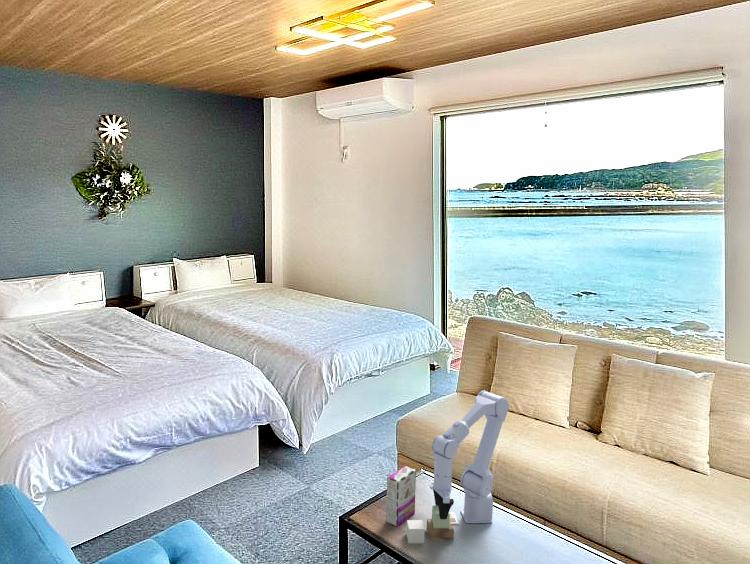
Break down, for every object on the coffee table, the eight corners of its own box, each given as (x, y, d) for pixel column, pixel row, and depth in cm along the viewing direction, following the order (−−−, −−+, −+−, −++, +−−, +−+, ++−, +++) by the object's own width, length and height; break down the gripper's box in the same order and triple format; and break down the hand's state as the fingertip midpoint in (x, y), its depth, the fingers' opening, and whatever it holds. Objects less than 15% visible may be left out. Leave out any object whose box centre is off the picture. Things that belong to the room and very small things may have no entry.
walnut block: (446, 528, 186) (446, 517, 185) (453, 540, 179) (454, 529, 179) (426, 530, 184) (426, 519, 184) (432, 542, 178) (433, 531, 177)
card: (454, 513, 195) (454, 511, 194) (458, 524, 188) (458, 523, 188) (440, 513, 194) (440, 512, 194) (444, 524, 187) (444, 523, 187)
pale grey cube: (421, 534, 182) (422, 519, 181) (423, 543, 177) (424, 528, 176) (406, 534, 181) (407, 520, 181) (408, 543, 176) (409, 529, 176)
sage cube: (446, 519, 184) (447, 505, 183) (449, 528, 179) (449, 513, 178) (431, 519, 184) (432, 505, 183) (433, 528, 179) (434, 513, 178)
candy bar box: (403, 508, 197) (405, 464, 194) (415, 513, 194) (417, 469, 191) (384, 522, 188) (386, 476, 186) (396, 527, 185) (398, 481, 183)
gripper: (427, 462, 186) (425, 500, 187) (434, 484, 171) (432, 525, 173) (447, 462, 186) (445, 500, 188) (457, 484, 172) (455, 524, 174)
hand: (441, 512), depth 181 cm, fingers open, 7 cm apart
